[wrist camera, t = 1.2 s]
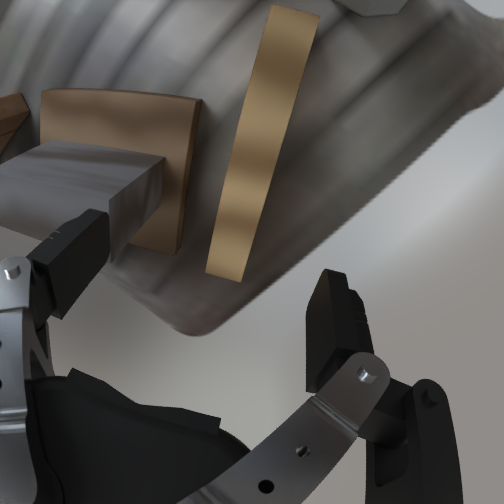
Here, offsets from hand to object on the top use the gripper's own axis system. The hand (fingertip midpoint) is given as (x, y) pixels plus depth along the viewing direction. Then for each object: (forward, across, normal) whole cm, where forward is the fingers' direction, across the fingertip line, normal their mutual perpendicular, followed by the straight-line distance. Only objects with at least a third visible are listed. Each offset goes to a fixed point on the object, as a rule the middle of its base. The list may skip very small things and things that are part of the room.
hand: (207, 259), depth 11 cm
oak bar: (+19, 0, 0) cm, 19 cm away
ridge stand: (+19, +15, +5) cm, 24 cm away
